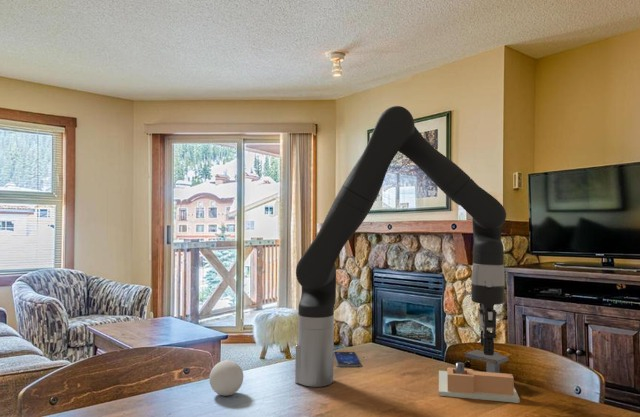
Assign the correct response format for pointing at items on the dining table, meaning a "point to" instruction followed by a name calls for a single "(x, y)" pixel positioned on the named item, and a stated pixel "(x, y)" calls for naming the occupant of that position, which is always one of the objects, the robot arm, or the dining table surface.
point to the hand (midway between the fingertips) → (486, 350)
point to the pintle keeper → (491, 361)
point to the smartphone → (346, 359)
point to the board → (477, 395)
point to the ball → (226, 377)
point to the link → (479, 382)
